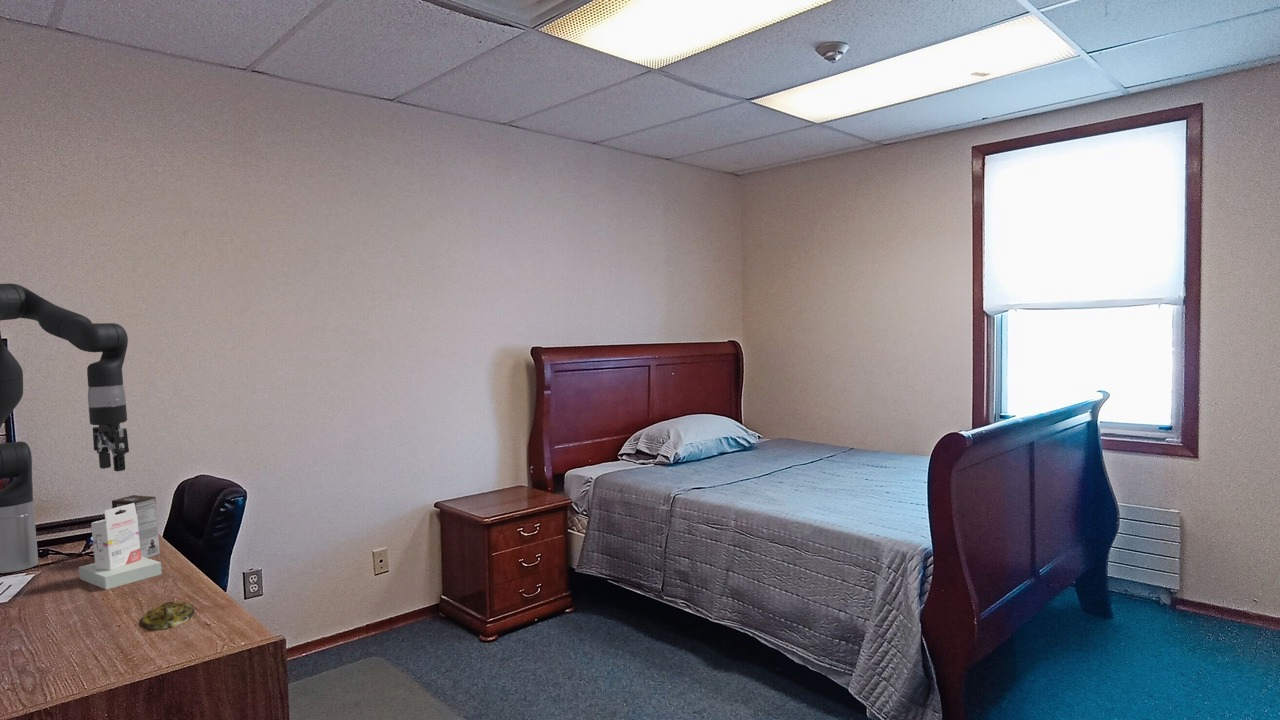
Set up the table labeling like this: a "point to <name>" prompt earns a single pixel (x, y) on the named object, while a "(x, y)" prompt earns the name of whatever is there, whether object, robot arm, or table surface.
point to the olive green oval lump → (168, 615)
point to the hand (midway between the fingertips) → (112, 469)
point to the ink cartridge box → (116, 538)
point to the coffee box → (143, 522)
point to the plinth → (120, 573)
